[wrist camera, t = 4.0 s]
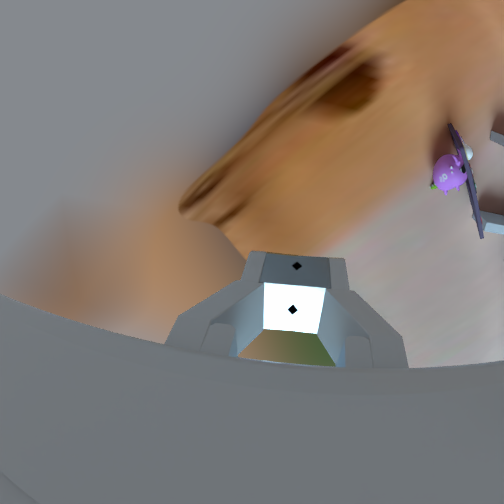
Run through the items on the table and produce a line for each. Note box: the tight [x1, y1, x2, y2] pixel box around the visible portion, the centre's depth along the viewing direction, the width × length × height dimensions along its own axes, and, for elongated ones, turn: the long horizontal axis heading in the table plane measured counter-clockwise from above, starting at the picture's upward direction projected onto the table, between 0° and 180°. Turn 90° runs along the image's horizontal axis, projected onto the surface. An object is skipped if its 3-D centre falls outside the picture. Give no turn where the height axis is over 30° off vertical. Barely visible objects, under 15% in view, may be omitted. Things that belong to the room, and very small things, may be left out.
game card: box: [430, 123, 484, 239], centre depth 21 cm, size 7×5×9 cm
